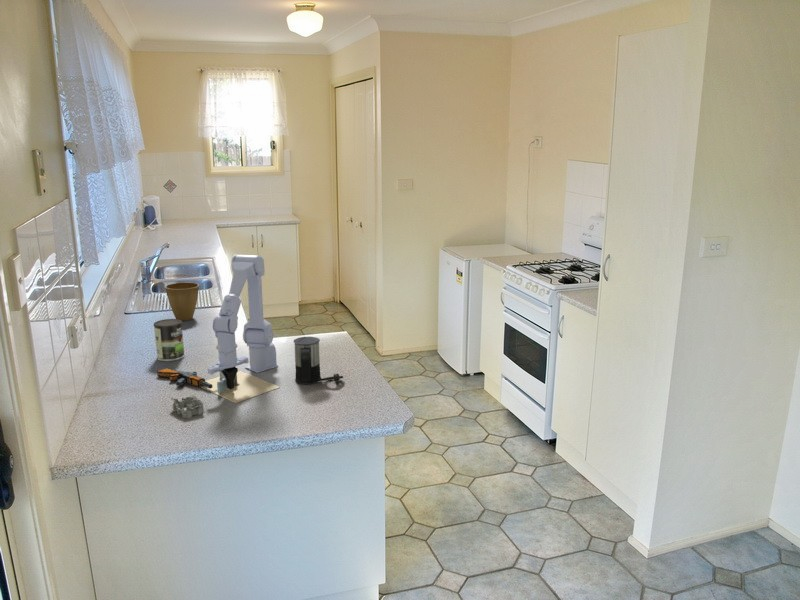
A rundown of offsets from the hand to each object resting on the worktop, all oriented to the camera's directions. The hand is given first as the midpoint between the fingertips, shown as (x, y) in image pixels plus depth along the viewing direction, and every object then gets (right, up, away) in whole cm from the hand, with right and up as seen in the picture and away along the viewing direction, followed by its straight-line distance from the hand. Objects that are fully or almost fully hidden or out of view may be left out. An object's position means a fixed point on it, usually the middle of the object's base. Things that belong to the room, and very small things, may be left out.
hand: (230, 388), depth 221 cm
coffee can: (-32, +7, +35) cm, 48 cm away
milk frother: (+29, +1, +10) cm, 30 cm away
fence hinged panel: (-1, 0, +2) cm, 3 cm away
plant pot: (-44, +21, +87) cm, 100 cm away
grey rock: (-10, -6, -14) cm, 18 cm away
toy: (-18, +1, +9) cm, 20 cm away
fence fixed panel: (-4, +1, +9) cm, 10 cm away
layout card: (+1, 0, +6) cm, 6 cm away
